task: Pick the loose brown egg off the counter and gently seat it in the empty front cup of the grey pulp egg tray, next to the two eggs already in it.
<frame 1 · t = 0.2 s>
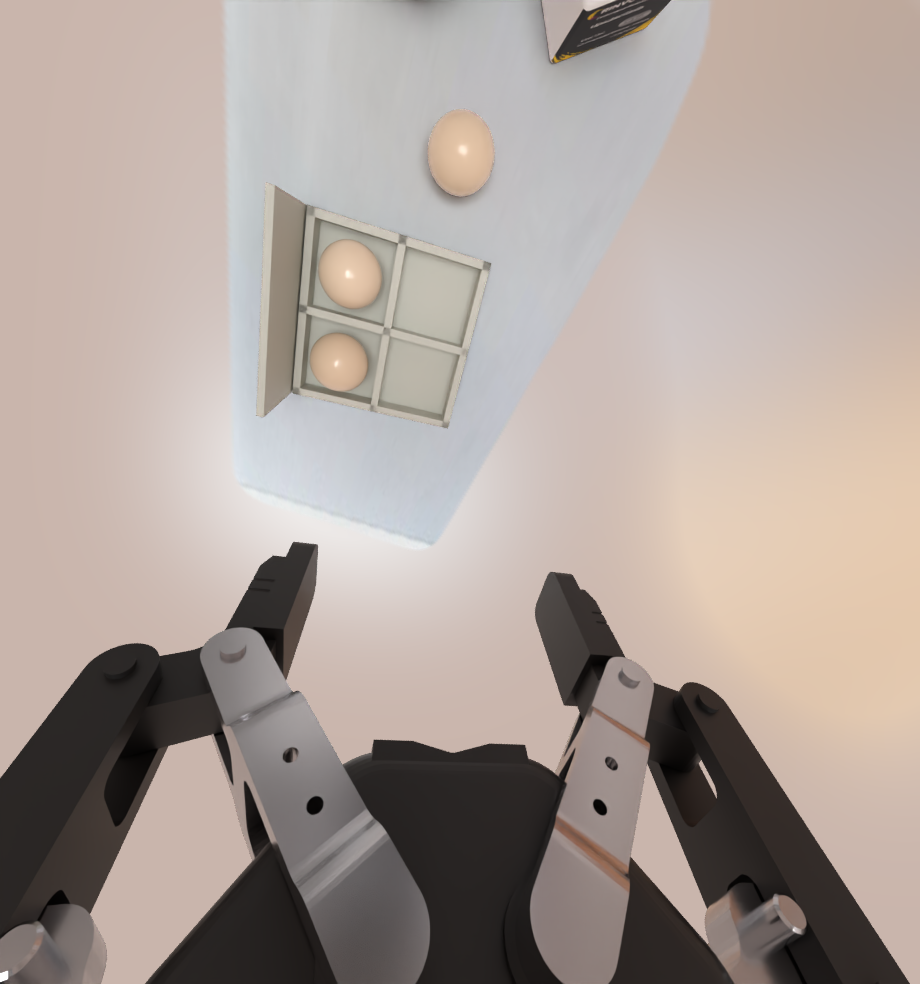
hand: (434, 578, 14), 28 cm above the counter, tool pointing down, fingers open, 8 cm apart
egg: (458, 163, 31), on the counter
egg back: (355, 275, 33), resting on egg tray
egg tray: (388, 328, 36), on the counter
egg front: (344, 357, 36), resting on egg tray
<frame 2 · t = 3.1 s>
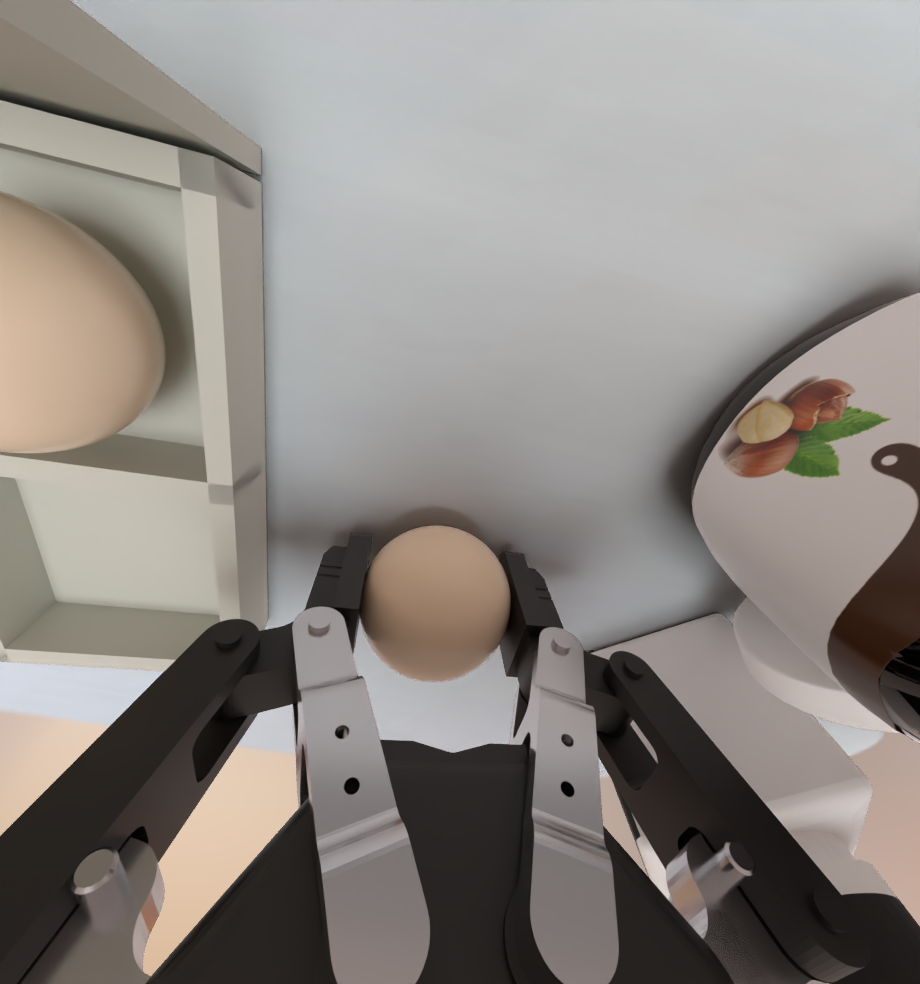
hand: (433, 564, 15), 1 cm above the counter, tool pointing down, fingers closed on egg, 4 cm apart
egg: (433, 554, 15), on the counter, touching gripper
medicine bottle: (649, 675, 20), on the counter
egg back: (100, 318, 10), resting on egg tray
spread jar: (795, 484, 15), on the counter
egg tray: (1, 418, 11), on the counter
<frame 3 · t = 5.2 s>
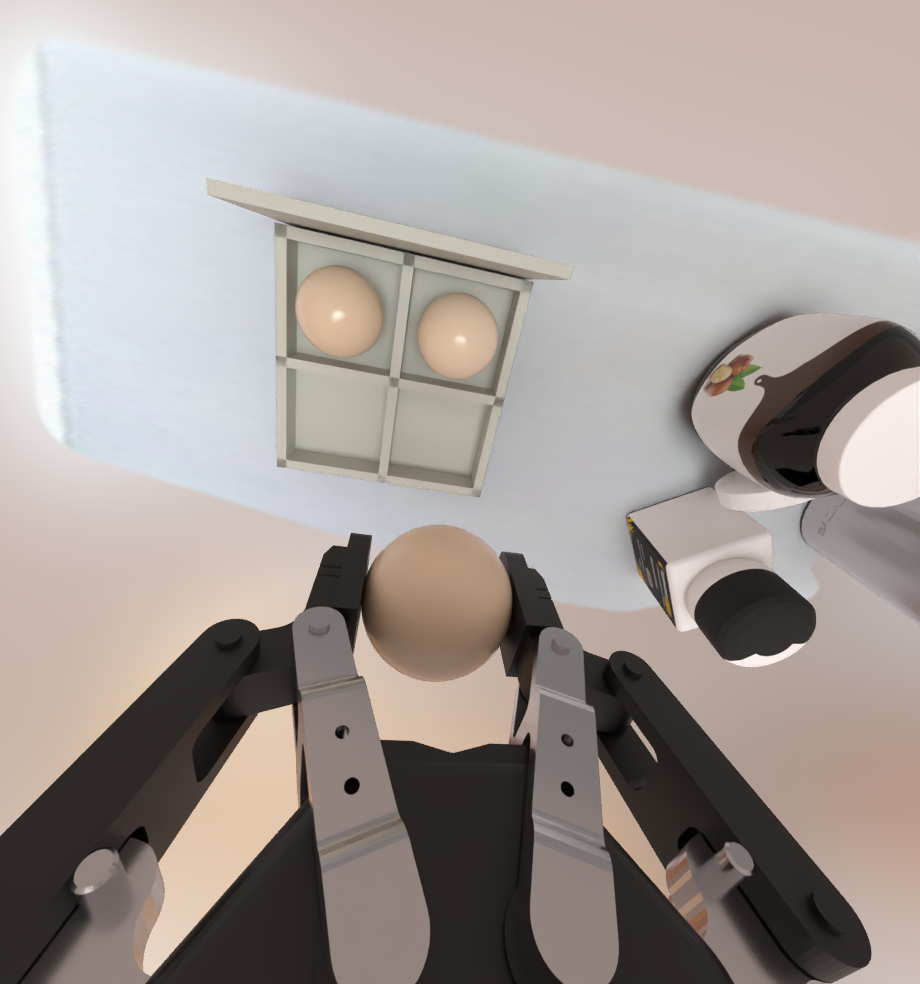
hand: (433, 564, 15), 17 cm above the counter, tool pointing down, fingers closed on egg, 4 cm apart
egg: (435, 553, 15), point 16 cm above the counter, touching gripper
medicine bottle: (670, 530, 35), on the counter
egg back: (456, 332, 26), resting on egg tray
spread jar: (745, 411, 30), on the counter
egg tray: (397, 374, 27), on the counter
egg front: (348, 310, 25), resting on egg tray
when the fingers open (3 cm above the counter, at t = 7.4 s): egg drops 2 cm, resting on egg tray.
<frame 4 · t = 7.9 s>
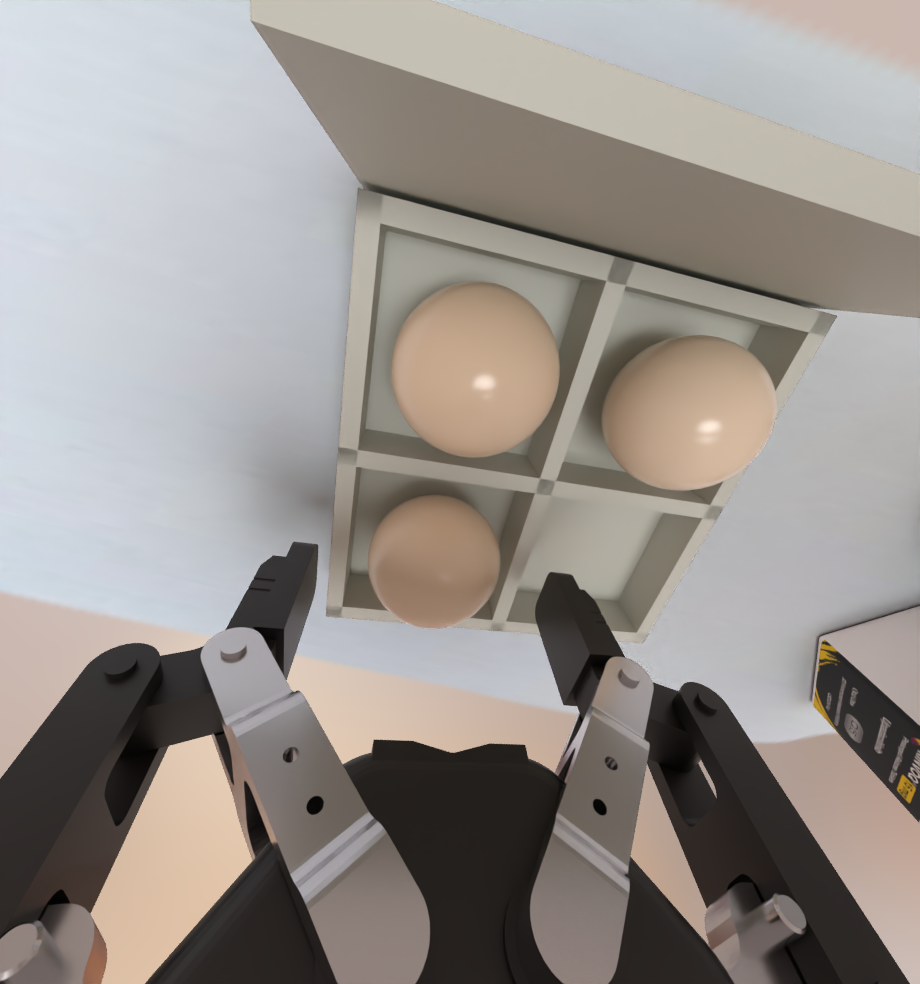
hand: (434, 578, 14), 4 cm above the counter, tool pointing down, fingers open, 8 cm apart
egg: (432, 523, 17), resting on egg tray
medicine bottle: (867, 650, 25), on the counter
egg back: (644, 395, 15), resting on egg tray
egg tray: (528, 458, 16), on the counter
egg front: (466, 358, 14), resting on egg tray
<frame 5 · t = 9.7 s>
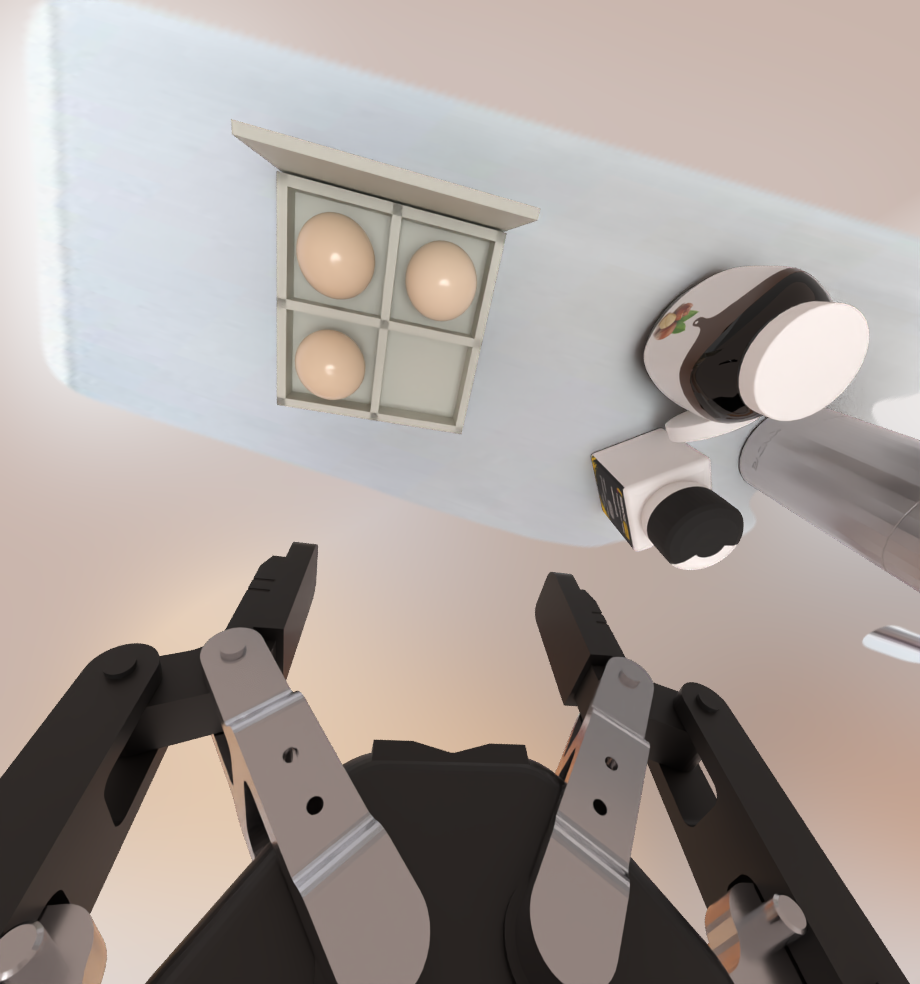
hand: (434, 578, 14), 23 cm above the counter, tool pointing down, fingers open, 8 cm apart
egg: (336, 358, 31), resting on egg tray
medicine bottle: (629, 470, 40), on the counter
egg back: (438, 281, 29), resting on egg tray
spread jar: (690, 359, 35), on the counter
egg tray: (385, 320, 30), on the counter
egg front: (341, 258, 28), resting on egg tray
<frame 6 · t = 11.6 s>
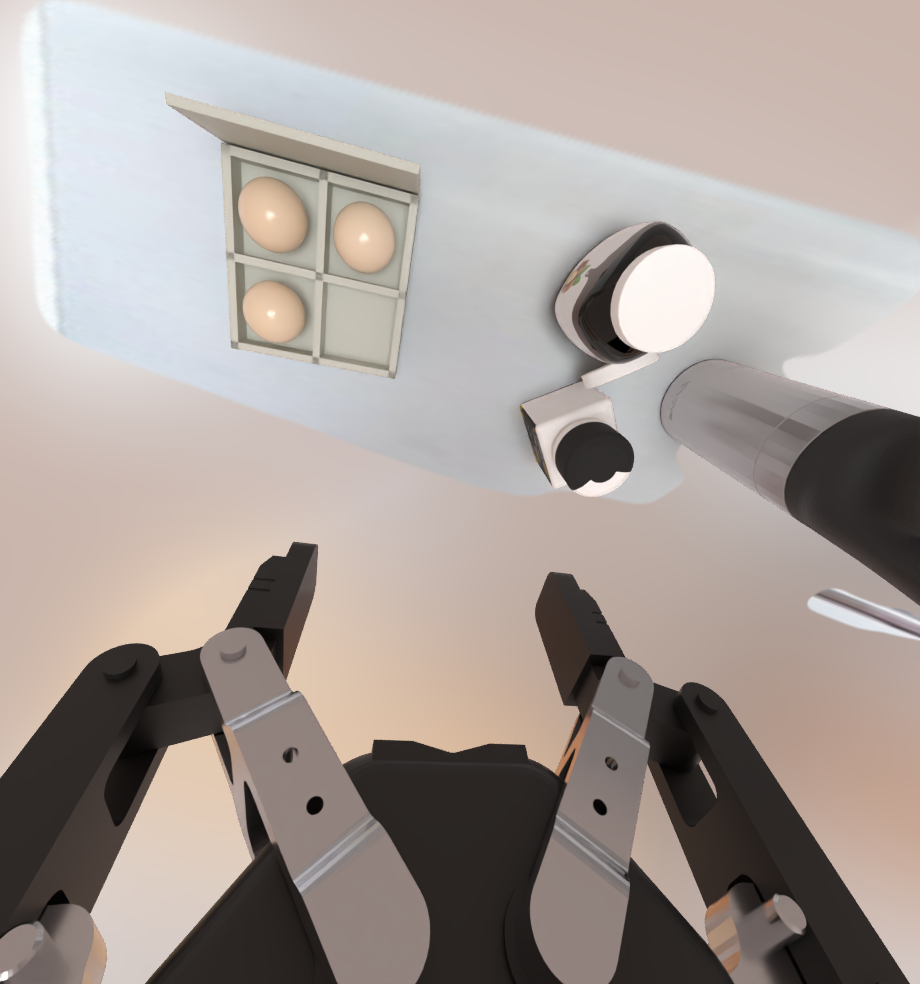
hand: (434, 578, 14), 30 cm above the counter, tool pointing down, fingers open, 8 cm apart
egg: (283, 309, 36), resting on egg tray
medicine bottle: (558, 421, 44), on the counter
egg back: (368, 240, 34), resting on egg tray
spread jar: (603, 315, 39), on the counter
egg tray: (325, 276, 35), on the counter
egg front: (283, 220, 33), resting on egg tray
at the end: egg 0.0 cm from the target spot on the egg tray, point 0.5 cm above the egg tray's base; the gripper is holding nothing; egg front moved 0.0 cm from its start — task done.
